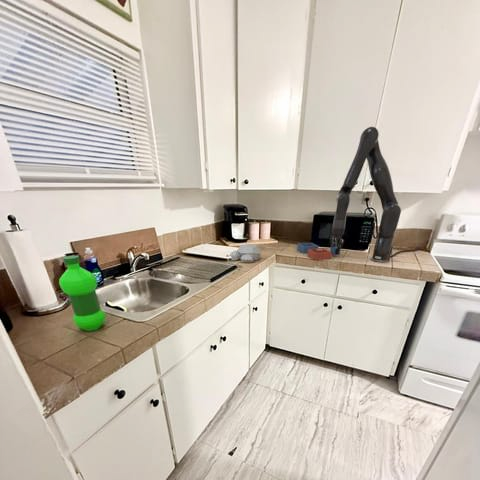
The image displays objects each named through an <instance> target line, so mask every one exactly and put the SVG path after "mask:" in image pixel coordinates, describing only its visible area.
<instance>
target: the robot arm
mask: <svg viewBox="0 0 480 480" xmlns="http://www.w3.org/2000/svg"><path fill="white" fill-rule="evenodd" d="M379 137H380V133H379V130H378V128H377V127H375V126H369V127H367V128H365V129H364V130H363V131H362V133H361V135H360V137H359V142H358V146H357V150H356V152H355V155H354V158H353V160H352V162H351V165H350V167H349V169H348V171H347V173H346V175H345V178H344V180H343V183H342V185H341V187H340V189H339V191H338V193H337V195H336V204H337V205H336V210H335V211H334V217H333V222H332V228H331V236H329V246H330V248H331V247H335V246H336V252H335V254H336V255H335V256H338V254H339V249H340V250H341V249H342V248H343V246H344V243H345V239H343V236H344V235H345V229H346V222H347V214H348V209H349V206H350V201H351V193H352V191H353V189H354V188H355V187H356V184H357V183H358V180H359V178H360V176H361V173H362V170H363V168H364V165H365V162H366V161H367V167H368V171H369V175H370V179H371V182H372V185H373V187H374V190H375V192H376V194H377V195H378V197H379V200H380V203H381V207H382V214H381V218H380V222H379V227H378V231H377V236H376V238H375V239H376V240H375V244H374V248H373V252H372V257H371V261H373V262H378V263H387V262H389V261H390V258H393V257H395V256H397V254H399V253H405V252H406V253H407V252H414V251H415V252H416V251H418V250H419V249H420V246H417V248H415V249H406V250H405V249H403V250H400V251H397V252H395V253H394V254H392V252H393V248H394V245H393V243H394V238H395V235H396V231H397V228H398V225H399V222H400V221H399V220H400V217H401V213H402V208H401V206H400V204H399V202H398V200H397V198H396V194H395V192H394V186H393V185H394V184H393V179H392V175H391V171H390V168H389V166H388V164H387V161H386V160H385V158H384V156H383V154H382V151H381V148H380V143H379Z"/></svg>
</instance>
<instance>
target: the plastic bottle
mask: <svg viewBox="0 0 480 480" xmlns="http://www.w3.org/2000/svg"><path fill="white" fill-rule="evenodd" d="M62 260H63V264H64V265H65V266H67V269H66V270H65V271H64V273H63V274H62V275H61V276H60V278H59V279H58V284H59V287H60V289H61V290H62V292H63V293H65V294H66V295H67V296H68V299H69V302H70V304H71V308H72V310H73V317H72V320H73V323H74V324H75V325H76V326H77V327H78V328H79V329H80V330H84V331H86V332H92V331H96V330H98V329H100V328H101V327H102V325H103V324H104V322H105V321H106V318H107V317H106V313H105V311H104V310H103V309H102V308H101V306H100V303H99V299H98V295H97V291H96V289H97V287H98V279H97V277H96V276H95V274H93V273H92V272H91V271H88V270H87V269H85V268H83V267H81V266H80V263H81V260H80V257H79V255H75V254H74V255H66V256H63V257H62Z"/></svg>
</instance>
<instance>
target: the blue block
mask: <svg viewBox="0 0 480 480" xmlns="http://www.w3.org/2000/svg"><path fill="white" fill-rule="evenodd" d="M329 251H330V252H332V253H331V256H338V255H341V248H340V249H339V254H338V255H336V254H335V252H336V246H335V247H331V246H330V250H329Z"/></svg>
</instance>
